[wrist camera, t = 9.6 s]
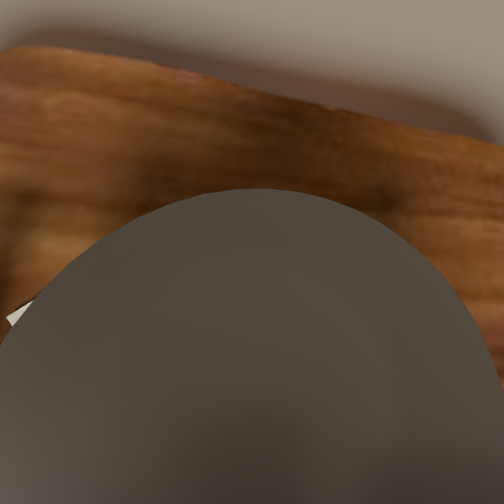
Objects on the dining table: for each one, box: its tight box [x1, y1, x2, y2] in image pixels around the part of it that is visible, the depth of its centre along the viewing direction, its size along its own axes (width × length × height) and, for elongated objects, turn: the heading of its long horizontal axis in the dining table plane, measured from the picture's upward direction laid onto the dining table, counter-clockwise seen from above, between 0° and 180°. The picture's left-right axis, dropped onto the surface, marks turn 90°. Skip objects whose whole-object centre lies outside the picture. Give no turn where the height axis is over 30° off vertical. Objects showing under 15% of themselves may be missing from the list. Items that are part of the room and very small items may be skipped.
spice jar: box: [0, 189, 504, 504], centre depth 9 cm, size 5×5×13 cm
